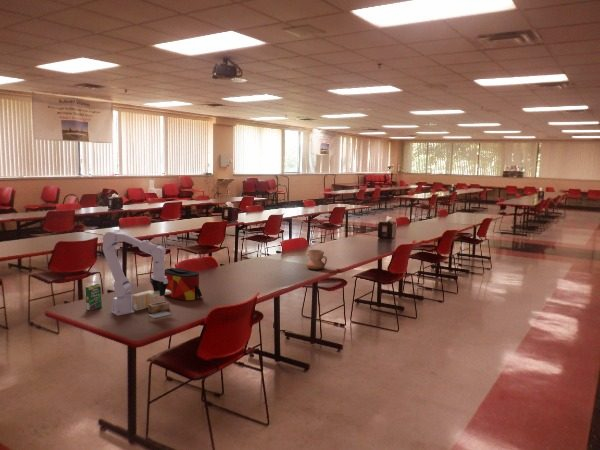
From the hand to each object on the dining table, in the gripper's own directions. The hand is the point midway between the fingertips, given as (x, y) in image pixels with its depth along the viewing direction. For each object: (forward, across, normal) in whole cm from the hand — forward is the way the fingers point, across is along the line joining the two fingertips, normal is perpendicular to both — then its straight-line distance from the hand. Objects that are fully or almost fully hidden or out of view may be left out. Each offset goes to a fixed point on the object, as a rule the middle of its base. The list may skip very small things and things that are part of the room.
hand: (159, 294), depth 250 cm
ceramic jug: (+11, +22, -143) cm, 145 cm away
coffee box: (+10, +31, +23) cm, 40 cm away
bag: (+11, +22, -26) cm, 36 cm away
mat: (+10, -2, +1) cm, 11 cm away
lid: (0, 0, 0) cm, 0 cm away
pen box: (+10, +5, -2) cm, 12 cm away
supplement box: (+6, +17, -6) cm, 19 cm away
